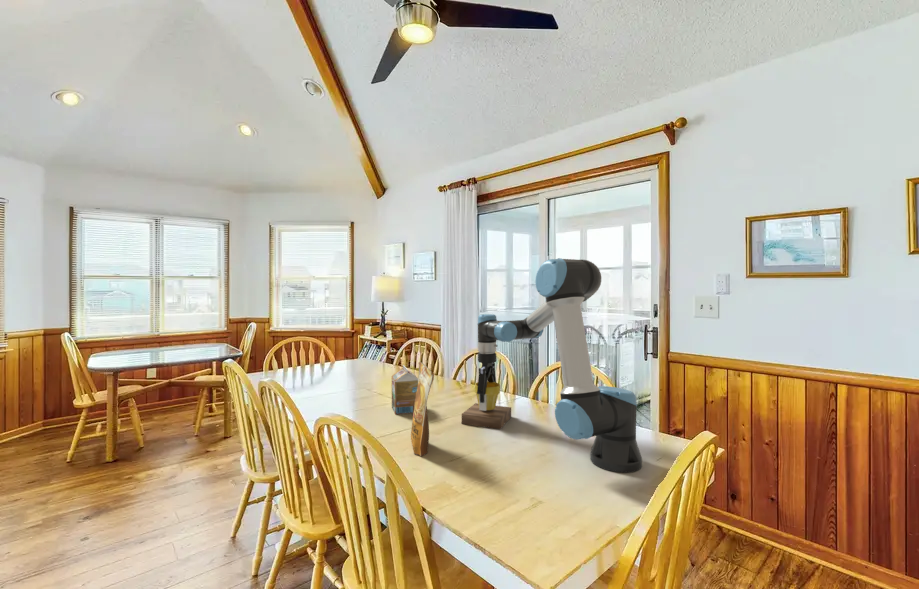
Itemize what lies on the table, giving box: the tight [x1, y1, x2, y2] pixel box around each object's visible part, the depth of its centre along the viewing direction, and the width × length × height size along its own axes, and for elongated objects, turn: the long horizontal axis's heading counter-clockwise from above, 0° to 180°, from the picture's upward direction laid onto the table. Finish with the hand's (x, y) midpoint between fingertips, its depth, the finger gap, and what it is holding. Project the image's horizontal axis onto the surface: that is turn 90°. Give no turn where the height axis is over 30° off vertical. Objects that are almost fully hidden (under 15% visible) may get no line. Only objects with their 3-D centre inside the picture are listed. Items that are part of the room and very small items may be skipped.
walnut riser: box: [461, 402, 512, 430], centre depth 172 cm, size 16×16×4 cm
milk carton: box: [391, 364, 418, 415], centre depth 186 cm, size 10×11×19 cm
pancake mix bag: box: [410, 361, 435, 457], centre depth 144 cm, size 7×19×28 cm, turn 11°
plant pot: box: [474, 381, 501, 410], centre depth 172 cm, size 10×10×10 cm
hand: (487, 406), depth 172 cm, fingers closed on plant pot, 10 cm apart
